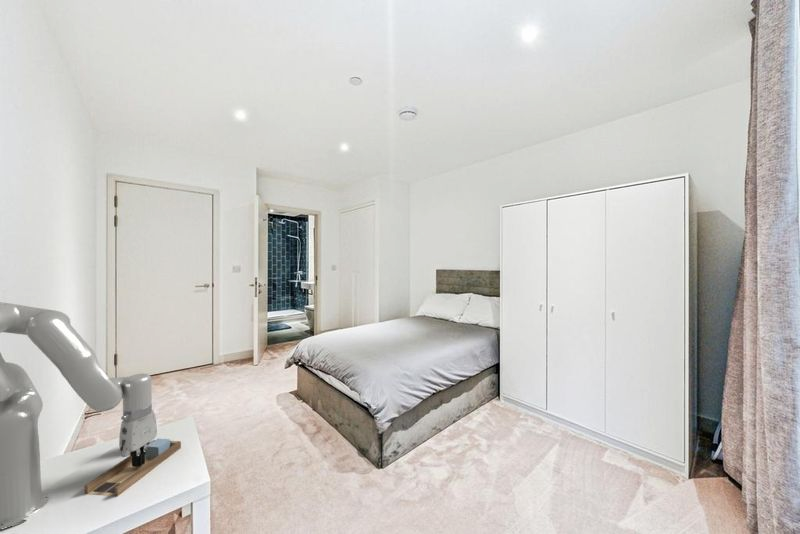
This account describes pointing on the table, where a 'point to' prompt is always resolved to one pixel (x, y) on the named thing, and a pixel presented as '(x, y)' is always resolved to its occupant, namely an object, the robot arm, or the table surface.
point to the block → (157, 447)
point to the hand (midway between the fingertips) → (138, 464)
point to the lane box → (127, 473)
